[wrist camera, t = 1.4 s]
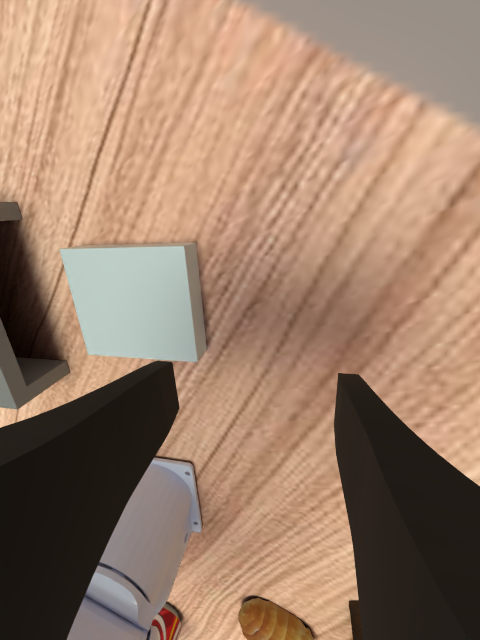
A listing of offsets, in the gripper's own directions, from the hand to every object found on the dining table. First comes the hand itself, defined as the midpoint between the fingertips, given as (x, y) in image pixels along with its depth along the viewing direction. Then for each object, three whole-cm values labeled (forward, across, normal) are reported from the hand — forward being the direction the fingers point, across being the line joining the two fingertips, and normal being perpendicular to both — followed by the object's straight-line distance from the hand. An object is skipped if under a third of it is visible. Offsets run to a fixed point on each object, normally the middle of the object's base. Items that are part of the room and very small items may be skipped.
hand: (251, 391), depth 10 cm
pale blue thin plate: (+11, +10, 0) cm, 15 cm away
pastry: (+11, 0, +40) cm, 42 cm away
